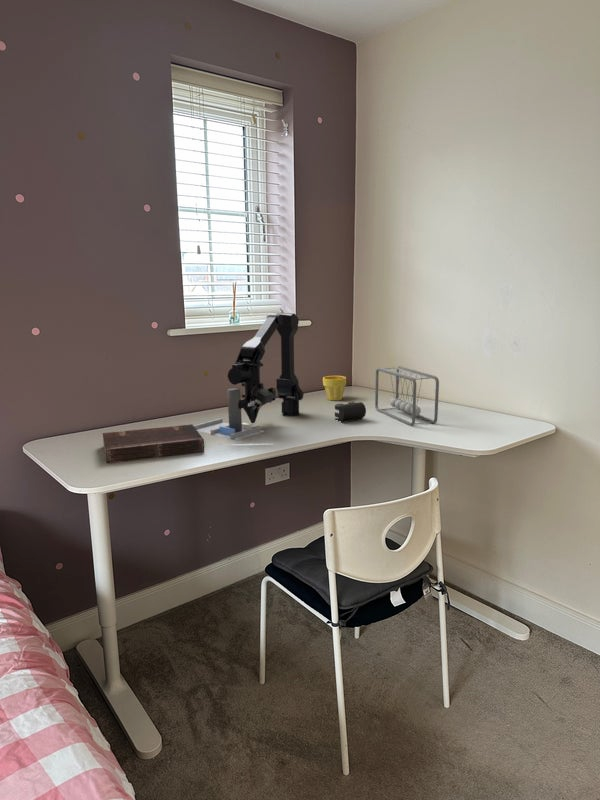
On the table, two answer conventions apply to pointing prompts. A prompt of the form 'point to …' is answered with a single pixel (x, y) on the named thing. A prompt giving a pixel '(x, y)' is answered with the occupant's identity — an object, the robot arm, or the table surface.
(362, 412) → the black cylinder
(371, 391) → the table surface
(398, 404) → the newton's cradle
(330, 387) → the plant pot
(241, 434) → the board
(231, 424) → the grey square pillar
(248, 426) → the ear clip
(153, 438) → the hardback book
